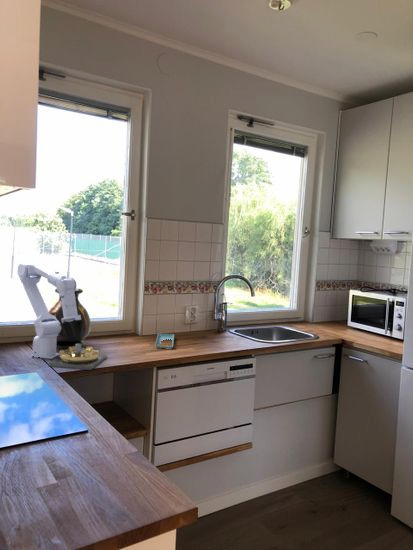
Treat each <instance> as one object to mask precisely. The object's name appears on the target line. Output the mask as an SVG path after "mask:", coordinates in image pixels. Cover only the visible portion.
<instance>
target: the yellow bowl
mask: <svg viewBox="0 0 413 550" xmlns="http://www.w3.org/2000/svg"><path fill="white" fill-rule="evenodd" d="M99 350H100V349H94V348H93V346H86V347H85V348H84V347H81V344H80V343H77V344H75V346H72V347H69V349H67V350H59V353H60V354H59V356H60V359H61V360H62V361H66V362H73V363H83V362H90V361H94V360H96V359H98V353H99Z"/></svg>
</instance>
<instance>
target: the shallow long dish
mask: <svg viewBox="0 0 413 550" xmlns="http://www.w3.org/2000/svg"><path fill="white" fill-rule="evenodd" d="M166 339H167V340H168V339H169V340H170V339H171V340H172V347H171V346H158V345H159V343H160V344H161V341H163V340H166ZM174 342H175V334H174V333H173V334H172V333H171V334H168V333H157V337H156V341H155V344H154V346H155V348H171V349H170V350H172V349H173V348H174Z"/></svg>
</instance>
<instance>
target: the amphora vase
mask: <svg viewBox="0 0 413 550" xmlns="http://www.w3.org/2000/svg"><path fill="white" fill-rule="evenodd" d="M54 292H55V293H56V294H58V296H59V297H58V298H59V299H58V301H57V302H56V303H55V304H54V305H53V306H52V307H51V308H50V309H49V310H48V312H49V314H51V315H53V316H55V317H56V319H57V320H58V321H59V322H60V324H63V323H62V318H64V316H63V308H62V301H61V296H60V295H59V292H58V290H57V288H56V289H54ZM74 292H75V300H76V307H77V314H78V315H81V320H80V321H82V320H83V321H84V322H83V324H82V328H81V336H80V338H75V337H74V333H73V338H72V339H67V337H66V334H65V332H64V330H63V328H62V327H61V331H60V333H59V334H58V336H57V343H56V350H59V351H60V350H67V349H69V347H72V346H75V344H77V343H80V344H81V348H84V346H85V344H86V343H85V341H84V340H85V339H86V338H87V337H88V336H89V334H90V332H91V318H90V315H89V313H88V311H87V309H86V307H84V306H83V304H81V302H80V300H79V295H80V294H82V293H83V292H84V290H83V289H81V288H77V287H76V289H75V290H74ZM71 320H74V319H71ZM70 322H71V321H70Z"/></svg>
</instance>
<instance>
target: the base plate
mask: <svg viewBox="0 0 413 550" xmlns="http://www.w3.org/2000/svg"><path fill="white" fill-rule="evenodd" d="M107 355H108V354H107V353H98V359H96V360H94V361H90V362H83V363H73V362H66V361H62V360H61V359H60V355H58V356H56V357H55V358H53V359H51V361H49V362H48V367H54V368H65V369H77V370H88V371H89V370H90V371H91V370H93V369H95V367H97V366H99V364H101V363H102V362H103V361H104V360H105V359H106V358H107V357H108V356H107ZM101 361H102V362H101Z"/></svg>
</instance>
